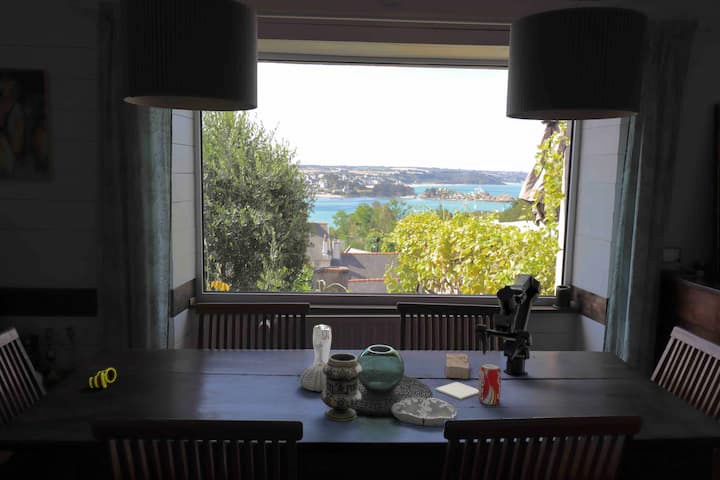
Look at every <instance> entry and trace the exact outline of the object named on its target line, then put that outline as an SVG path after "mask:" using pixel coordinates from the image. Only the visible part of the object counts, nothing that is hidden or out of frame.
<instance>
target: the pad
mask: <svg viewBox="0 0 720 480" xmlns="http://www.w3.org/2000/svg"><path fill="white" fill-rule="evenodd" d="M434 390H435V391H437V392H440V393H442V394H445V395H446V396H447V395H448V396H450V397H452V398H455V399H458V400H460V401H461V400H464V399H467V398H470V397H472V396H476V395H478V388H475V387H472V386H469V385H468V384H465V383H464V384H463V383H461V382H458V381H456V382H455V381H454V382H451V383H449V384H444V385H442V386H437V387H436V388H435V389H434Z"/></svg>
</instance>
